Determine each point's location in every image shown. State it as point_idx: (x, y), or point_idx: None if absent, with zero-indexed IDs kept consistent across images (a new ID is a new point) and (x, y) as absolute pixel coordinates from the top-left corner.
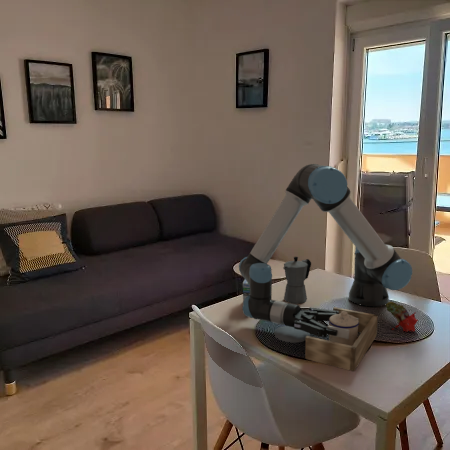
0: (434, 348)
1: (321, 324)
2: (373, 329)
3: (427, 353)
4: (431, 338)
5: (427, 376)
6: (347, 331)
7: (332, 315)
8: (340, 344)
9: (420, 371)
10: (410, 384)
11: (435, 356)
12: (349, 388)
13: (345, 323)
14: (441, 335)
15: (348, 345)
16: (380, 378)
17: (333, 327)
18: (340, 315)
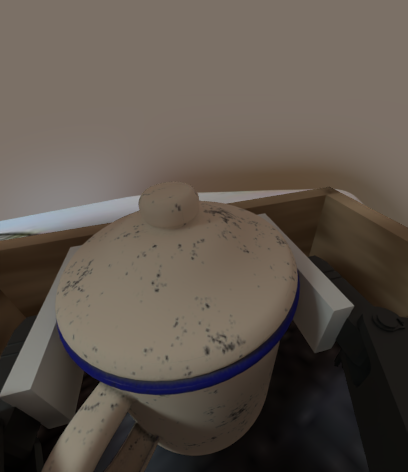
0: (83, 213)
1: (399, 389)
2: None
3: (112, 212)
4: (28, 227)
5: (201, 193)
6: (267, 220)
7: (161, 354)
8: (368, 212)
9: None
10: (245, 195)
11: (119, 205)
12: None
13: (243, 212)
14: (6, 223)
15: (337, 199)
16: None
17: (315, 268)
18: (200, 226)
